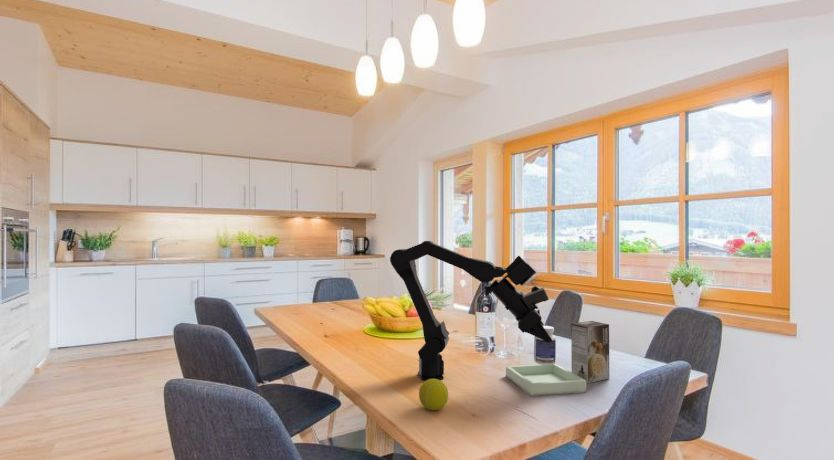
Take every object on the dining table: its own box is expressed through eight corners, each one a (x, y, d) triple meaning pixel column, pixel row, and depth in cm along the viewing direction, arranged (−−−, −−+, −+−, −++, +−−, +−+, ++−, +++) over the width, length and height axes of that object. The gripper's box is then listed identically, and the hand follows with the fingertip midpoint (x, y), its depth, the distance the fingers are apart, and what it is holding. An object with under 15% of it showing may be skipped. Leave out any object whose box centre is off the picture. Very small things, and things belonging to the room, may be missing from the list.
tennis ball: (452, 413, 101) (452, 383, 101) (423, 416, 99) (424, 385, 99) (442, 402, 108) (442, 373, 108) (415, 404, 106) (415, 376, 106)
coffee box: (592, 372, 132) (592, 320, 132) (610, 379, 126) (610, 324, 126) (570, 377, 127) (570, 322, 128) (588, 383, 122) (588, 327, 122)
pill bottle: (559, 365, 117) (560, 328, 117) (540, 366, 116) (541, 329, 116) (548, 359, 123) (548, 324, 123) (530, 360, 122) (530, 325, 122)
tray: (531, 396, 112) (531, 384, 112) (505, 376, 128) (505, 366, 128) (586, 392, 115) (586, 380, 115) (554, 373, 131) (554, 363, 131)
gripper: (532, 280, 112) (576, 326, 109) (530, 274, 130) (568, 313, 127) (500, 309, 113) (543, 355, 111) (503, 299, 131) (540, 338, 129)
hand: (550, 338), depth 119 cm, fingers closed on pill bottle, 6 cm apart
